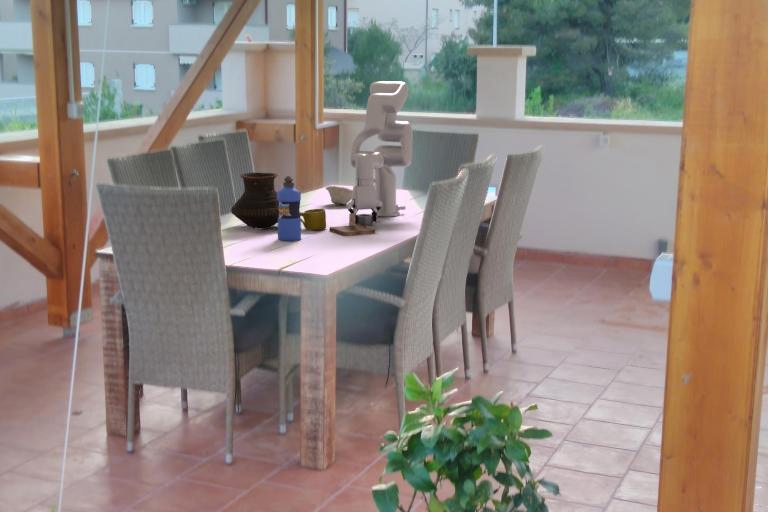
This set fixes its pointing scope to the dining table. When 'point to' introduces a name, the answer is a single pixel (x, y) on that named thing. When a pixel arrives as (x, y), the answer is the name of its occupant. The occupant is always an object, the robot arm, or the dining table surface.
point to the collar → (365, 220)
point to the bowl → (340, 194)
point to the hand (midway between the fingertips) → (364, 222)
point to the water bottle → (289, 212)
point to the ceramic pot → (257, 201)
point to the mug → (314, 219)
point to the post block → (352, 228)
